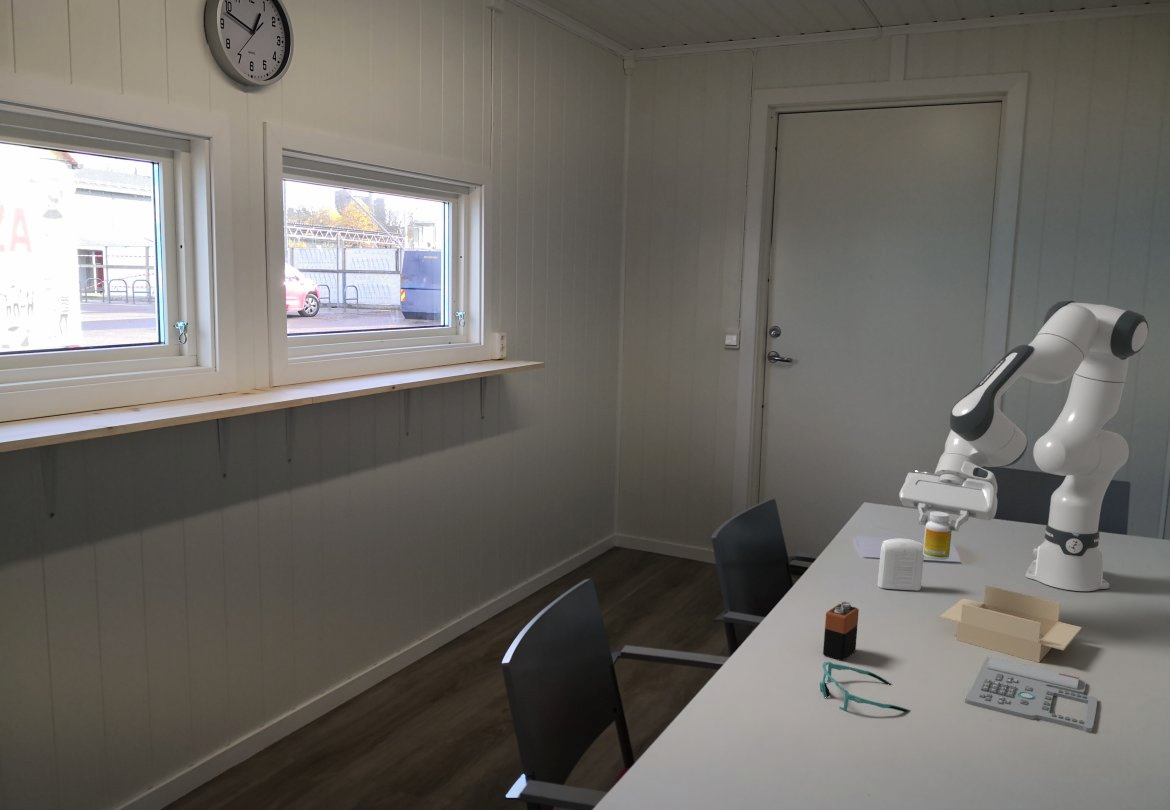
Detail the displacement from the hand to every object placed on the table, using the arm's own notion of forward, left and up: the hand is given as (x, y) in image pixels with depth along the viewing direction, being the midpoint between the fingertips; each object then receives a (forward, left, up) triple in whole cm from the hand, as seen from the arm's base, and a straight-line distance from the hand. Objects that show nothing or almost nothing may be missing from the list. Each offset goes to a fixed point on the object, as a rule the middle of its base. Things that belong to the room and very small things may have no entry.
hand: (937, 526), depth 198 cm
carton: (+4, +16, -21) cm, 27 cm away
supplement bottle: (-1, 0, -7) cm, 7 cm away
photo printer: (-20, -7, -22) cm, 30 cm away
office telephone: (+30, +19, -22) cm, 42 cm away
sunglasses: (+45, -11, -22) cm, 51 cm away
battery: (+27, -16, -22) cm, 39 cm away
